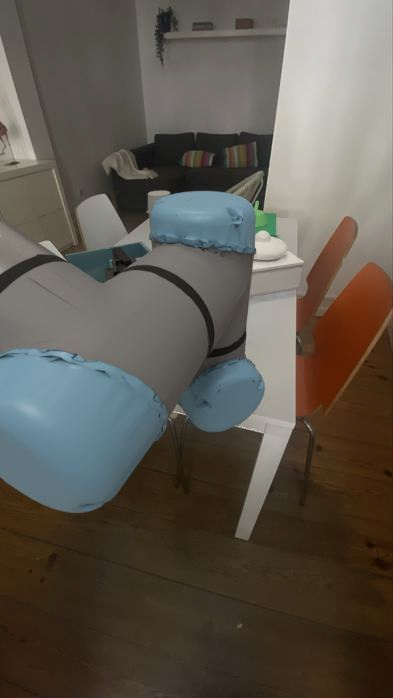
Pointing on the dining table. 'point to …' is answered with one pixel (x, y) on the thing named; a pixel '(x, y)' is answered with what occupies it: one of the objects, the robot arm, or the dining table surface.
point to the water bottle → (155, 199)
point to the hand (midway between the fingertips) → (117, 255)
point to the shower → (103, 258)
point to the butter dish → (274, 266)
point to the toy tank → (265, 221)
